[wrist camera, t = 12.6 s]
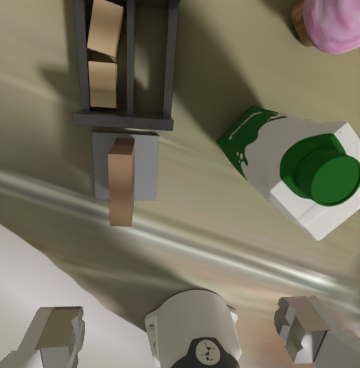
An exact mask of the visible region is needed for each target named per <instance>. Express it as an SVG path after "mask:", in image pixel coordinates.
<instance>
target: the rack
mask: <svg viewBox="0 0 360 368" xmlns="http://www.w3.org/2000/svg"><path fill="white" fill-rule="evenodd" d="M106 1H110V2H118V3H125V4H127V111H120V110H106V109H93V106H91V102H90V83H89V64H88V61H91V57H90V49H89V48H87V44H88V37H89V15H88V0H74V6H75V21H76V37H77V52H78V67H79V82H80V98H81V110H79V111H77V112H74V113H72V118H73V125H86V126H102V127H118V128H134V129H150V130H166V131H173V122H174V120H173V119H172V117H171V108H172V93H173V79H174V64H175V49H176V35H177V20H178V6H179V2H180V0H106ZM135 5H140V6H147V7H155V8H162V9H168V14H167V32H166V51H165V69H164V87H163V106H162V114H161V113H147V112H134V64H135Z"/></svg>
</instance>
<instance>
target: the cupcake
mask: <svg viewBox="0 0 360 368" xmlns="http://www.w3.org/2000/svg"><path fill="white" fill-rule="evenodd" d="M291 20H292V22H293V24H294V27H295V30H296V31H297V33H298V35H299V38H300V41H301V43H302V44H303V45H304V46H315V47H316V48H317V49H319V50H320V51H323V52H326V53H329V54H339V53H344V52H347V51H350V50H353V49H356V48H358V47H360V0H301V1H299V2H298V3H297V4H295V5H294V6H293V8H292V12H291Z"/></svg>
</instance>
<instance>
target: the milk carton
mask: <svg viewBox="0 0 360 368" xmlns="http://www.w3.org/2000/svg"><path fill="white" fill-rule="evenodd" d="M217 142H218V144H219V145H220V147H221V148H222V150H223V152H224V153H225V155H226V156H227V158H228V159H229V161H230V162H231V163H232V164H233V166H234V167H235V168H236V169H237V170H238V172H239V173H240V174H241V175H242V176H243V177H244V178H245V179H246V180H247V181H248V182H249V183H250V184H251V185H252V186H253V187H254V188H255V189H256V190H257V191H258V192H259V193H260V194H261V195H262V196H263V197H264V198H265V199H266V200H267V201H268V202H269V203H271V205H272V206H273V207H274V208H275V209H276V210H277V211H278V212H279V213H280V214H281V215H283V216H284V217H285V218H287V219H289V220H290V221H292V222H294V223H296V224H297V225H299V226H300V227H301V228H302V229H304V230H305V231H306V232H307V233H308V234H310V235H311V236H312V237H313V238H315V239H316V240H317V241H319V240H321V239H322V238H323V237H324V236H326V235H327V234H328V233H330V232H331V231H332V230H333V229H335V228H336V227H337V226H338V225H340V224H341V223H342V222H343V221H345V220H346V219H347V218H348V217H350V216H351V215H352V214H353V213H355V212H356V211H357V210H358V209H360V139H359V138H358V136H357V135H356V133H355V132H354V130H353V129H352V128H351V126H350V125H349V123H348V122H346V121H343V122H328V123H319V122H315V121H311V120H307V119H302V118H298V117H294V116H290V115H286V114H281V113H278V112H274V111H270V110H266V109H262V108H258V107H255V106H252V107H251V108H250V109H249V110H248V111H247V112H246V113H245V114H244V115H243V116H242V117H241V118H240V119H239V120H238V121H237V122H236V123H235V124H234V125H233V126H232V127H230V128H229V129H228V130H227V131H226V132H225V133H224V134H223V135H222V136H221V137H220V138H219V139H218V140H217Z"/></svg>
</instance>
